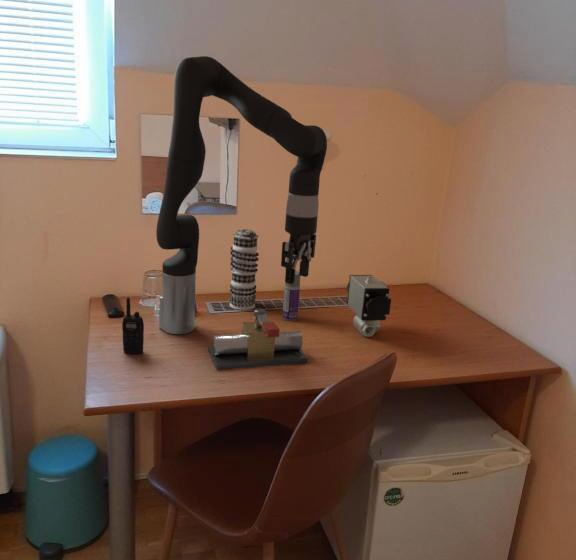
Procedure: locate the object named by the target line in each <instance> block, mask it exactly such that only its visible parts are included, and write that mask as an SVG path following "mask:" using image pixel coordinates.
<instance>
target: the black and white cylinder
mask: <svg viewBox="0 0 576 560" xmlns="http://www.w3.org/2000/svg"><path fill="white" fill-rule="evenodd" d="M232 237H233V244H232V246H230V255H231V256H230V266H231V268H230V272H231V274H232V275H231V282H230V285H229V288H230V289H229V292H230V294H229V300H228V301H229V307H230V308H231V309H234V310H238V311H249V310H254V309H255V308H256V298H257V296H256V294H257V290H256V289H257V285H256V274H257V273H258V271H259V270H258V267H259V264H258V263H257V262H259V259H260V258H259V256H260V254H259V252H258V238H259V235H258V234H257V233H256V231H254V230H251V229H247V228H246V229H238V230H236V231H235V233H233V236H232Z"/></svg>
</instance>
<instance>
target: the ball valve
mask: <svg viewBox="0 0 576 560" xmlns="http://www.w3.org/2000/svg"><path fill="white" fill-rule="evenodd" d="M346 291H347V298H346V299H347V300H346V305H347V306H348V307H349V309H350V310H352V311H353V312H354V314H356V315H355V316H354V318H352V319H353V320H352V322H353V326H354V328H355V329H357V330H358V332H359V333H360V334H361V335H362V336H364V337H366V338H367V337H368V338H369V337H370V338H371V337H373V336H374V335H375V333H376V332H380V330H381V327H382V325H381V321H386V318H387V315H390V312H391V304H392V303H391V302H392V298H390V297H389V296H390V295H389V294H390V288H389V287H388V286H387V283H385V282H384V280H383V281H382V280H379V279H378V278H376V277H375V276H374V275H373V274H350V275H349V280H348V284H347V286H346Z"/></svg>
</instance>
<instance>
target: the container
mask: <svg viewBox="0 0 576 560" xmlns="http://www.w3.org/2000/svg"><path fill="white" fill-rule="evenodd" d="M300 290H301V276H300V275H299V270H298V271H297V270H295V282H294V283H293V284H288V283H286V282H285V281H284V291H283V306H282V320H285V321H287V322H296V321H297V320H298V316H299V305H300V303H299V302H300V292H301V291H300Z"/></svg>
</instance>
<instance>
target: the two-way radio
mask: <svg viewBox="0 0 576 560" xmlns="http://www.w3.org/2000/svg"><path fill="white" fill-rule="evenodd" d="M130 299H131V298H130V297H126V311H125V312H126V315H125V316H123V318H122V319H123V320H122V321H121V323H122V324H121V325H122V327H121V328H122V347H123V348H122V350H123V352H124V353H126V354H136V355H137V354H138V355H139V354H142V353H143V352H144V342H145V341H144V338H145V337H144V334H145V333H144V331H145V326H144V325H145V323H144V320H143V317H142V316H141V315H140V313H139V311H135V312H134V314H131V300H130Z"/></svg>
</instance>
